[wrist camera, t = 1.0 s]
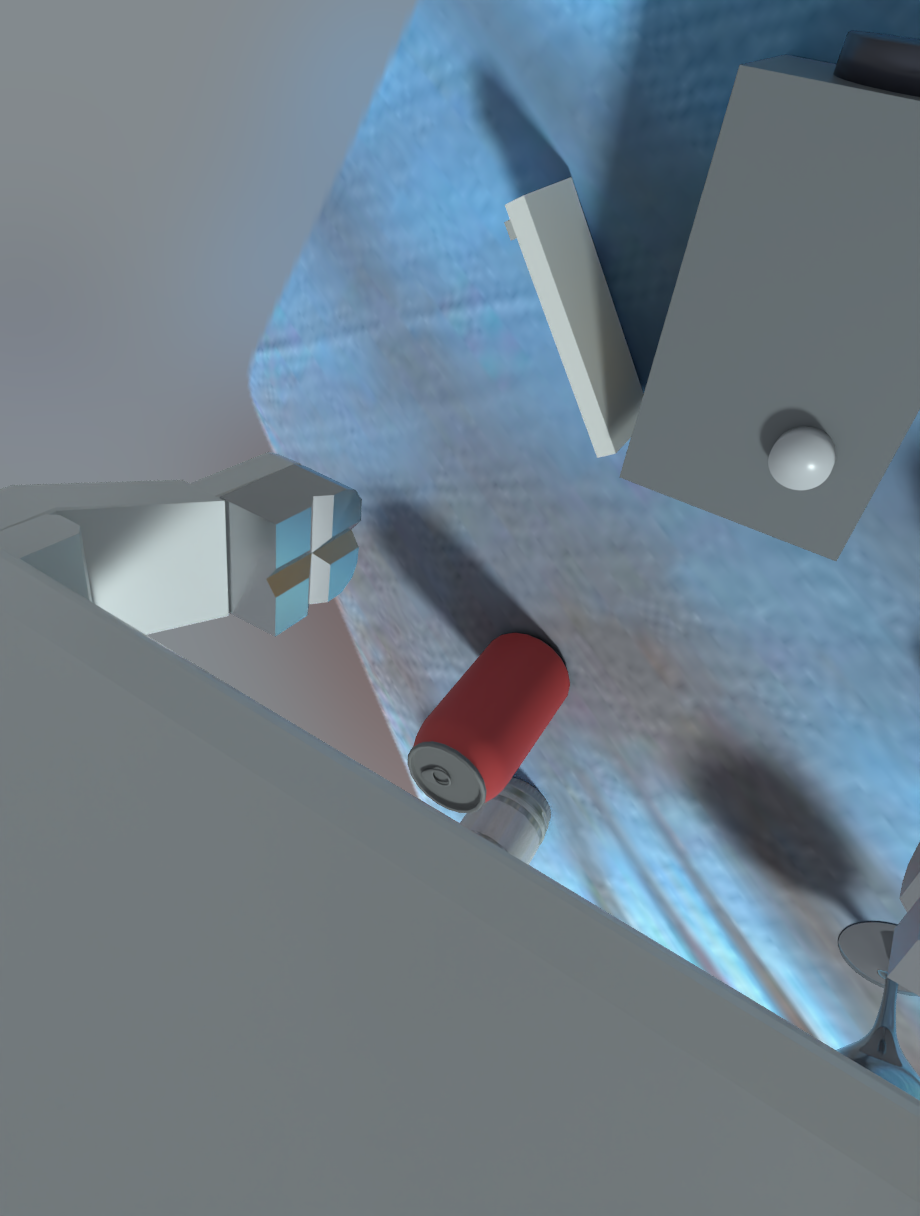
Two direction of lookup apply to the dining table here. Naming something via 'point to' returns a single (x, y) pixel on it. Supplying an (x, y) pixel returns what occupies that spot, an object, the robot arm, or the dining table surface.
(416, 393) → the dining table surface
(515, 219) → the side door
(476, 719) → the beer can
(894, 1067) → the wine glass
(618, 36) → the dining table surface
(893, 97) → the block
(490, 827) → the camera lens
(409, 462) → the dining table surface
